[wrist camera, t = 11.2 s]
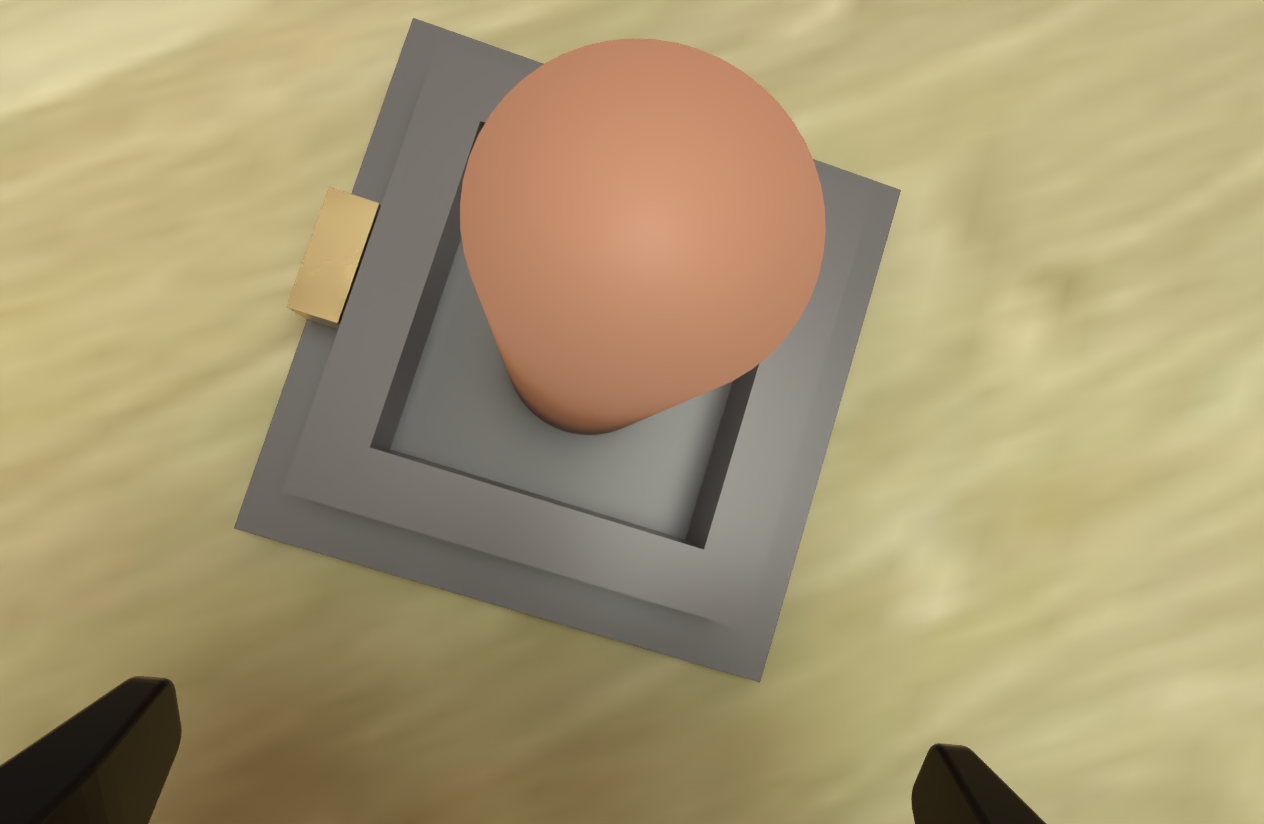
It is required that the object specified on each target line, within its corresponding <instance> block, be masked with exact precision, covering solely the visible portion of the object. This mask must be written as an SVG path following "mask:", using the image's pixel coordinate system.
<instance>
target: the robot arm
mask: <svg viewBox="0 0 1264 824" xmlns="http://www.w3.org/2000/svg"><path fill="white" fill-rule="evenodd" d="M180 740H181V722H180V716H179V710H178V703H177V697H176V691H175V687H174V684H173V683H172V681H171V680H169V679H166V678H156V677H144V676H136V677H132V678H130V679H128V680H126V681H124V682H123V683H121V684H120V685H119V686H117V687H116V688H114V689H113V690H111V691H110V692H108V693H107V694H105V695H104V696H102V697H101V698H99V699H98V700H96V701H95V702H93V703H92V704H91V705H89V706H88V707H86V708H85V709H83V710H82V711H80V712H79V713H77V714H76V715H74V716H73V717H71V718H70V719H68V720H67V721H65V722H64V723H63V724H61V725H60V726H58V727H57V728H55V729H54V730H52V731H51V732H49V733H48V734H46V735H45V736H43V737H42V738H40V739H39V740H37V741H36V742H34V743H33V744H32V745H30V746H29V747H27V748H26V749H24V750H23V751H21V752H20V753H18V754H17V755H15V756H14V757H12V758H11V759H9V760H8V761H6V762H5V763H4V764H2V765H1V766H0V824H148V823H149V821H150V818H151V816H152V813H153V811H154V808H155V806H156V803H157V801H158V798H159V796H160V793H161V791H162V788H163V786H164V783H165V781H166V778H167V776H168V773H169V771H170V769H171V766H172V764H173V761H174V759H175V756H176V754H177V751H178V748H179V744H180ZM911 800H912V810H913V815H914V821H915V824H1046V823H1045V822H1044V821H1043V820H1042V819H1041V818H1040V817H1039V816H1038V815H1037V814H1036V813H1035V812H1034V811H1033V810H1032V809H1031V808H1030V807H1029V806H1028V805H1027V804H1026V803H1025V802H1024V801H1023V800H1022V799H1021V798H1020V797H1019V796H1018V795H1017V794H1016V793H1015V792H1014V791H1013V790H1012V789H1011V788H1010V787H1009V786H1008V785H1007V784H1006V783H1005V782H1004V781H1003V780H1002V779H1001V778H999V777H998V776H997V775H996V774H995V773H994V772H993V771H992V770H991V769H990V768H989V767H988V766H987V765H986V764H985V763H984V762H983V761H982V760H981V759H980V758H979V757H978V756H977V755H976V754H975V753H974V752H973V751H972V750H971V749H969V748H968V747H965V746H962V745H952V744H940V743H938V744H934V745H933V746H932V747H930V749H929V751H928V753H927V755H926V757H925V760H924V762H923V765H922V767H921V769H920V772H919V774H918V776H917V779H916V781H915V783H914V786H913V790H912V799H911Z"/></svg>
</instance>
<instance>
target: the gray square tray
mask: <svg viewBox="0 0 1264 824" xmlns="http://www.w3.org/2000/svg"><path fill="white" fill-rule="evenodd" d="M542 65H544V64H542V63H540V62H537V61H534V60H531V59H528V58H525V57H523V56H520V55H517V54H514V53H511V52H508V51H506V50H503V49H500V48H497V47H494V46H491V45H489V44H486V43H483V42H480V41H477V40H474V39H472V38H469V37H466V36H463V35H460V34H457V33H455V32H452V31H449V30H446V29H443V28H440V27H438V26H435V25H432V24H429V23H426V22H423V21H421V20H418V19H415V18H413V20H412V23H411V26H410V28H409V31H408V34H407V37H406V40H405V43H404V45H403V48H402V51H401V54H400V57H399V60H398V63H397V65H396V68H395V71H394V74H393V77H392V80H391V82H390V85H389V88H388V91H387V94H386V97H385V100H384V102H383V105H382V108H381V111H380V114H379V117H378V119H377V122H376V125H375V128H374V131H373V134H372V137H371V139H370V142H369V145H368V148H367V151H366V154H365V156H364V159H363V162H362V165H361V168H360V171H359V174H358V176H357V179H356V182H355V185H354V188H353V191H352V193H351V194H350V193H347V192H344V191H341V190H338V189H335V188H332V187H329V189H328V192H327V194H326V197H325V200H324V203H323V206H322V208H321V211H320V214H319V217H318V220H317V223H316V225H315V228H314V231H313V234H312V237H311V240H310V242H309V245H308V248H307V251H306V254H305V256H304V259H303V262H302V265H301V268H300V271H299V273H298V276H297V279H296V282H295V285H294V288H293V290H292V293H291V296H290V299H289V302H288V304H287V307H288V308H289V309H291V310H292V311H294V312H296V313H297V314H299V315H301V316H302V317H304V318H306V319H307V322H306V324H305V327H304V330H303V333H302V336H301V339H300V342H299V344H298V347H297V350H296V353H295V356H294V359H293V361H292V364H291V367H290V370H289V373H288V376H287V379H286V381H285V384H284V387H283V390H282V393H281V396H280V398H279V401H278V404H277V407H276V410H275V413H274V416H273V418H272V421H271V424H270V427H269V430H268V433H267V436H266V438H265V441H264V444H263V447H262V450H261V453H260V455H259V458H258V461H257V464H256V467H255V470H254V473H253V475H252V478H251V481H250V484H249V487H248V490H247V492H246V495H245V498H244V501H243V504H242V507H241V510H240V512H239V515H238V518H237V521H236V524H235V527H234V528H235V529H238V530H242V531H245V532H249V533H252V534H255V535H259V536H262V537H266V538H269V539H273V540H276V541H279V542H283V543H286V544H290V545H293V546H296V547H300V548H303V549H307V550H310V551H313V552H317V553H320V554H324V555H327V556H331V557H334V558H337V559H341V560H344V561H348V562H351V563H354V564H358V565H361V566H365V567H368V568H371V569H375V570H378V571H382V572H385V573H389V574H392V575H395V576H399V577H402V578H406V579H409V580H412V581H416V582H419V583H423V584H426V585H429V586H433V587H436V588H440V589H443V590H447V591H450V592H453V593H457V594H460V595H464V596H467V597H470V598H474V599H477V600H481V601H484V602H487V603H491V604H494V605H498V606H501V607H505V608H508V609H511V610H515V611H518V612H522V613H525V614H528V615H532V616H535V617H539V618H542V619H545V620H549V621H552V622H556V623H559V624H563V625H566V626H569V627H573V628H576V629H580V630H583V631H586V632H590V633H593V634H597V635H600V636H603V637H607V638H610V639H614V640H617V641H621V642H624V643H627V644H631V645H634V646H638V647H641V648H644V649H648V650H651V651H655V652H658V653H661V654H665V655H668V656H672V657H675V658H679V659H682V660H685V661H689V662H692V663H696V664H699V665H702V666H706V667H709V668H713V669H716V670H719V671H723V672H726V673H730V674H733V675H737V676H740V677H743V678H747V679H750V680H754V681H757V682H760V681H761V677H762V674H763V670H764V667H765V663H766V660H767V656H768V653H769V649H770V646H771V642H772V639H773V635H774V632H775V628H776V625H777V621H778V618H779V614H780V611H781V607H782V604H783V600H784V597H785V593H786V590H787V586H788V583H789V579H790V576H791V572H792V569H793V565H794V562H795V558H796V555H797V552H798V548H799V545H800V541H801V538H802V534H803V531H804V527H805V524H806V520H807V517H808V513H809V510H810V506H811V503H812V499H813V496H814V492H815V489H816V485H817V482H818V478H819V475H820V471H821V468H822V464H823V461H824V457H825V454H826V450H827V447H828V443H829V440H830V436H831V433H832V429H833V426H834V422H835V419H836V415H837V412H838V408H839V405H840V401H841V398H842V394H843V391H844V387H845V384H846V380H847V377H848V373H849V370H850V366H851V363H852V359H853V356H854V352H855V349H856V345H857V342H858V338H859V335H860V332H861V328H862V325H863V321H864V318H865V314H866V311H867V307H868V304H869V300H870V297H871V293H872V290H873V286H874V283H875V279H876V276H877V272H878V269H879V265H880V262H881V258H882V255H883V251H884V248H885V244H886V241H887V237H888V234H889V230H890V227H891V223H892V220H893V216H894V213H895V209H896V206H897V202H898V199H899V195H900V192H901V190H899V189H896V188H893V187H891V186H888V185H885V184H882V183H879V182H876V181H874V180H871V179H868V178H865V177H862V176H859V175H857V174H854V173H851V172H848V171H845V170H842V169H840V168H837V167H834V166H831V165H828V164H826V163H823V162H820V161H817V160H814V159H813V161H814V163H815V167H816V170H817V173H818V177H819V180H820V183H821V188H822V194H823V200H824V206H825V226H826V233H825V244H824V254H823V259H822V263H821V268H820V272H819V277H818V279H817V282H816V285H815V287H814V290H813V293H812V296H811V298H810V300H809V302H808V304H807V306H806V308H805V310H804V311H803V313H802V315H801V317H800V319H799V320H798V322H797V323H796V325H795V326H794V327H793V329H792V330H791V332H790V333H789V334H788V336H787V337H786V338H785V339H784V340H783V341H782V343H781V344H780V345H779V346H778V347H777V348H776V349H775V350H774V351H773V352H772V353H771V354H770V355H769V356H768V357H767V358H765V359H764V360H763V361H762V362H760V363H759V364H758V365H757V366H755V367H754V368H753V369H752V370H750V371H748V372H747V373H745V374H743V375H742V376H740V377H739V378H737V379H735V380H734V381H732V382H730V383H727V384H725V385H723V386H721V387H718V388H716V389H714V390H711V391H709V392H707V393H704V394H702V395H700V396H697V397H695V398H693V399H690V400H688V401H686V402H683V403H681V404H678V405H676V406H674V407H671V408H669V409H667V410H664V411H662V412H660V413H657V414H655V415H652V416H650V417H648V418H645V419H643V420H641V421H638V422H636V423H634V424H631V425H629V426H627V427H624V428H622V429H619V430H617V431H613V432H610V433H605V434H598V435H582V434H574V433H570V432H566V431H563V430H560V429H558V428H555V427H553V426H551V425H549V424H547V423H546V422H544V421H543V420H541V419H540V418H538V417H537V416H536V415H535V414H534V413H533V412H531V411H530V410H529V409H528V408H527V406H526V405H525V404H524V403H523V401H522V400H521V399H520V397H519V396H518V394H517V392H516V391H515V389H514V387H513V384H512V382H511V380H510V377H509V375H508V372H507V369H506V367H505V364H504V362H503V359H502V356H501V354H500V351H499V349H498V346H497V343H496V341H495V338H494V336H493V333H492V330H491V328H490V325H489V323H488V320H487V317H486V315H485V312H484V310H483V307H482V304H481V302H480V299H479V297H478V294H477V291H476V289H475V286H474V284H473V281H472V278H471V276H470V272H469V269H468V265H467V262H466V258H465V255H464V250H463V243H462V237H461V230H460V200H461V192H462V184H463V178H464V174H465V171H466V167H467V163H468V159H469V156H470V154H471V151H472V149H473V146H474V144H475V142H476V139H477V137H478V135H479V133H480V131H481V130H482V128H483V126H484V124H485V123H486V121H487V119H488V118H489V116H490V114H491V113H492V112H493V111H494V109H495V108H496V107H497V106H498V104H499V103H500V102H501V101H502V99H503V98H504V97H505V96H506V95H507V94H508V93H509V92H510V91H511V90H512V89H513V88H514V87H515V86H516V85H517V84H518V83H519V82H520V81H521V80H522V79H524V78H525V77H526V76H528V75H529V74H531V73H532V72H533V71H535V70H536V69H537V68H539V67H540V66H542Z"/></svg>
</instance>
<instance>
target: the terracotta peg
mask: <svg viewBox="0 0 1264 824" xmlns="http://www.w3.org/2000/svg"><path fill="white" fill-rule="evenodd" d="M460 230H461V237H462V243H463V250H464V255H465V258H466V262H467V265H468V269H469V272H470V276H471V278H472V281H473V284H474V286H475V289H476V291H477V294H478V297H479V299H480V302H481V304H482V307H483V310H484V312H485V315H486V317H487V320H488V323H489V325H490V328H491V330H492V333H493V336H494V338H495V341H496V343H497V346H498V349H499V351H500V354H501V356H502V359H503V362H504V364H505V367H506V369H507V372H508V375H509V377H510V380H511V382H512V384H513V387H514V389H515V391H516V392H517V394H518V396H519V397H520V399H521V400H522V401H523V403H524V404H525V405H526V406H527V408H528V409H529V410H530V411H531V412H533V413H534V414H535V415H536V416H537V417H538V418H540V419H541V420H543V421H544V422H546V423H547V424H549V425H551V426H553V427H555V428H558V429H560V430H563V431H566V432H570V433H574V434H582V435H598V434H605V433H610V432H613V431H617V430H619V429H622V428H624V427H627V426H629V425H631V424H634V423H636V422H638V421H641V420H643V419H645V418H648V417H650V416H652V415H655V414H657V413H660V412H662V411H664V410H667V409H669V408H671V407H674V406H676V405H678V404H681V403H683V402H686V401H688V400H690V399H693V398H695V397H697V396H700V395H702V394H704V393H707V392H709V391H711V390H714V389H716V388H718V387H721V386H723V385H725V384H727V383H730V382H732V381H734V380H735V379H737V378H739V377H740V376H742V375H743V374H745V373H747V372H748V371H750V370H752V369H753V368H754V367H755V366H757V365H758V364H759V363H760V362H762V361H763V360H764V359H765V358H767V357H768V356H769V355H770V354H771V353H772V352H773V351H774V350H775V349H776V348H777V347H778V346H779V345H780V344H781V343H782V341H783V340H784V339H785V338H786V337H787V336H788V334H789V333H790V332H791V330H792V329H793V327H794V326H795V325H796V323H797V322H798V320H799V319H800V317H801V315H802V313H803V311H804V310H805V308H806V306H807V304H808V302H809V300H810V298H811V296H812V293H813V290H814V287H815V285H816V282H817V279H818V277H819V272H820V268H821V263H822V259H823V254H824V244H825V233H826V226H825V206H824V200H823V194H822V188H821V183H820V180H819V177H818V173H817V170H816V167H815V163H814V161H813V159H812V156H811V154H810V152H809V150H808V147H807V145H806V143H805V141H804V139H803V137H802V136H801V134H800V132H799V131H798V129H797V127H796V126H795V124H794V122H793V121H792V120H791V118H790V117H789V116H788V114H787V113H786V112H785V111H784V109H783V108H782V107H781V106H780V104H779V103H778V102H777V101H776V100H775V99H774V98H773V97H772V96H771V95H770V94H769V93H768V92H767V91H766V90H765V89H764V88H763V87H762V86H761V85H760V84H758V83H757V82H756V81H754V80H753V79H752V78H751V77H749V76H748V75H747V74H745V73H744V72H743V71H741V70H739V69H738V68H736V67H734V66H733V65H731V64H729V63H728V62H726V61H724V60H723V59H720V58H718V57H716V56H713V55H711V54H709V53H707V52H704V51H702V50H699V49H696V48H692V47H689V46H686V45H682V44H679V43H673V42H667V41H661V40H655V39H622V40H612V41H605V42H601V43H596V44H592V45H588V46H584V47H581V48H578V49H576V50H573V51H570V52H568V53H565V54H562V55H560V56H558V57H557V58H555V59H553V60H551V61H549V62H547V63H545V64H544V65H542V66H540V67H539V68H537V69H536V70H535V71H533V72H532V73H531V74H529V75H528V76H526V77H525V78H524V79H522V80H521V81H520V82H519V83H518V84H517V85H516V86H515V87H514V88H513V89H512V90H511V91H510V92H509V93H508V94H507V95H506V96H505V97H504V98H503V99H502V101H501V102H500V103H499V104H498V106H497V107H496V108H495V109H494V111H493V112H492V113H491V114H490V116H489V118H488V119H487V121H486V123H485V124H484V126H483V128H482V130H481V131H480V133H479V135H478V137H477V139H476V142H475V144H474V146H473V149H472V151H471V154H470V156H469V159H468V163H467V167H466V171H465V174H464V178H463V184H462V192H461V200H460Z"/></svg>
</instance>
